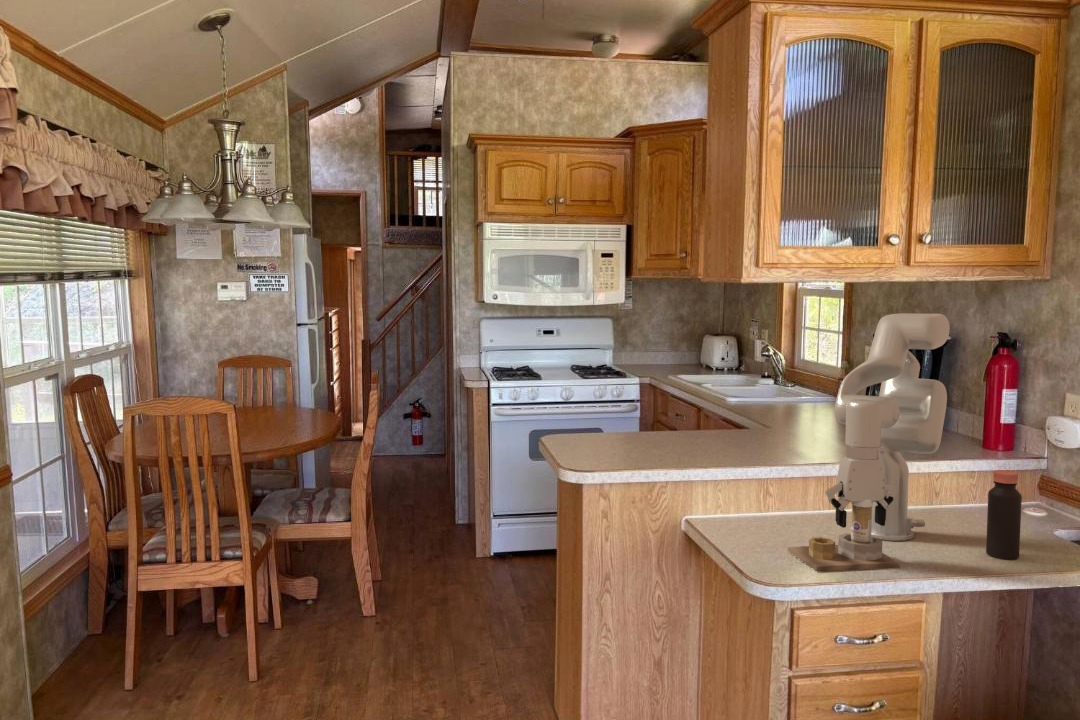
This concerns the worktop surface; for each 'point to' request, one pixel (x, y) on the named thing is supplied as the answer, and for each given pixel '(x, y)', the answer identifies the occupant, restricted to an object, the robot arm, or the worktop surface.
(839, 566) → the fitting board
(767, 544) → the worktop surface
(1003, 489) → the brown bottle
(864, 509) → the sprinkles bottle
